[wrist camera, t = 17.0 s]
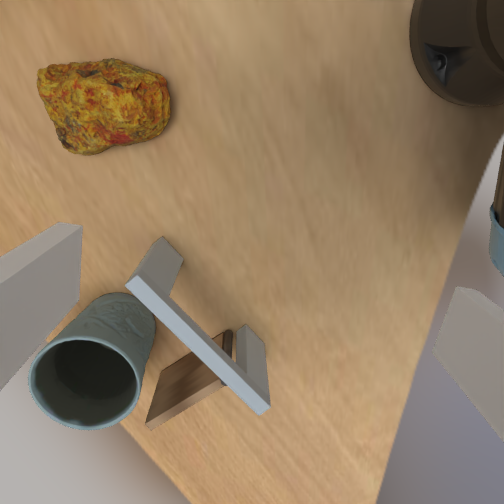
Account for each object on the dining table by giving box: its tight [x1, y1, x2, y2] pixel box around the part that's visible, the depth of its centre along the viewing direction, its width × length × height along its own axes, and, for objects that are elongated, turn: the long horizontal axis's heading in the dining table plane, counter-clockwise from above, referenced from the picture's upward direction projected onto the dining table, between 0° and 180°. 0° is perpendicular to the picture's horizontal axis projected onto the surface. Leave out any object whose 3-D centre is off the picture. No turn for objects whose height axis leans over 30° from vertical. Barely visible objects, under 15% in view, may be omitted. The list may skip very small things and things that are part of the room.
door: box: [145, 330, 233, 430], centre depth 46 cm, size 10×2×9 cm, turn 125°
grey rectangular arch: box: [125, 237, 271, 416], centre depth 42 cm, size 18×2×12 cm, turn 40°
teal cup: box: [28, 293, 156, 430], centre depth 43 cm, size 10×10×12 cm
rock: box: [37, 58, 171, 156], centre depth 38 cm, size 11×8×10 cm
